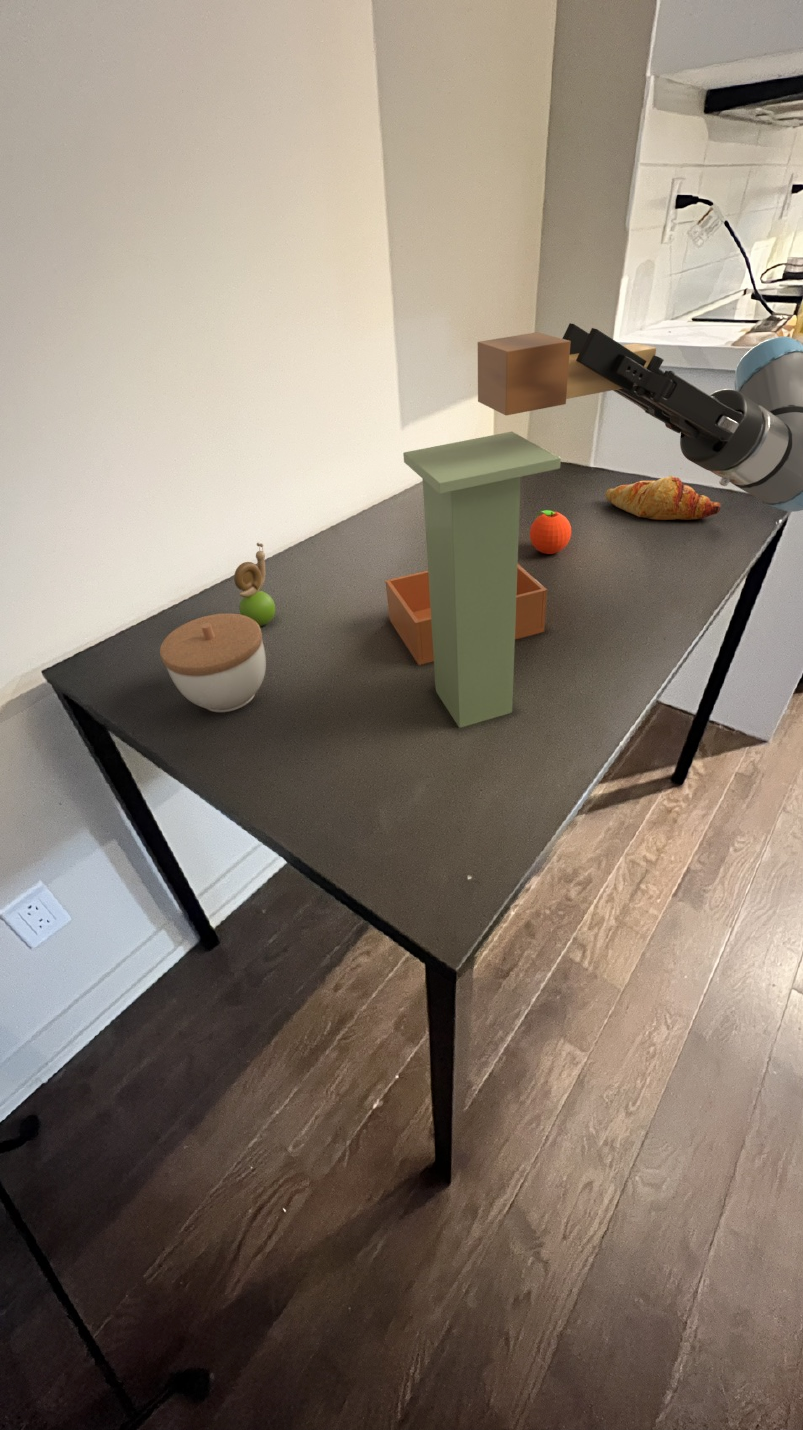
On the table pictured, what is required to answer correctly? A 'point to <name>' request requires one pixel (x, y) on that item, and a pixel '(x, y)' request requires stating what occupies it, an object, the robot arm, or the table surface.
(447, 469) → the shelf stand
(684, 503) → the croissant
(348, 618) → the table surface
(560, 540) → the clementine
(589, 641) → the table surface
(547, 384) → the mallet
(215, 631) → the lidded bowl
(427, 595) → the open box
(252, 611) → the snail figurine
